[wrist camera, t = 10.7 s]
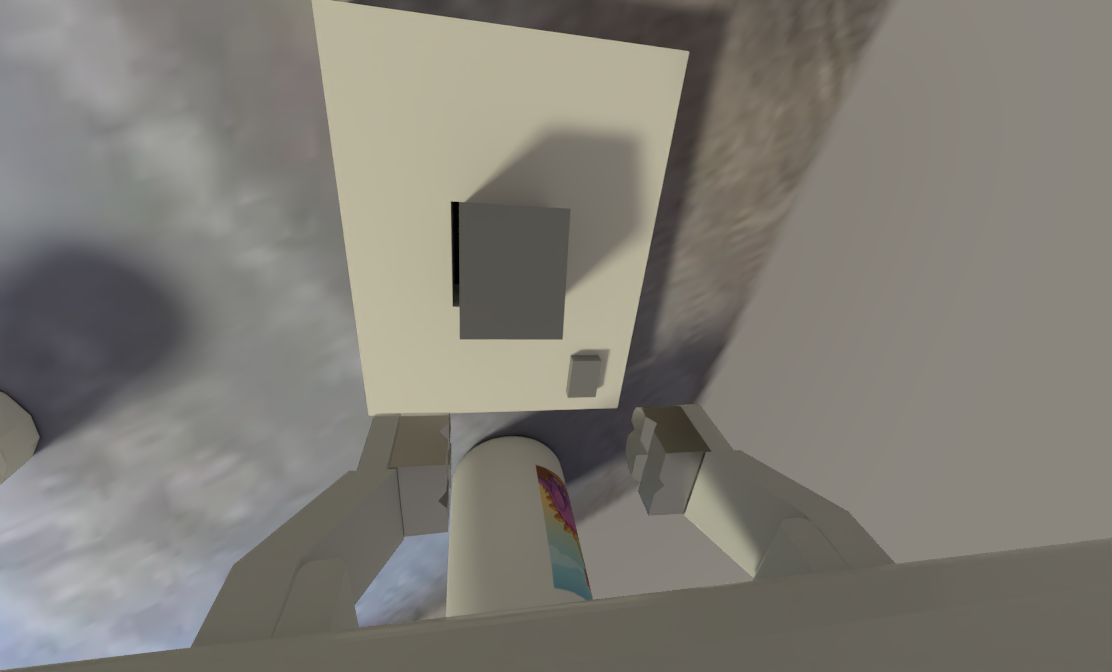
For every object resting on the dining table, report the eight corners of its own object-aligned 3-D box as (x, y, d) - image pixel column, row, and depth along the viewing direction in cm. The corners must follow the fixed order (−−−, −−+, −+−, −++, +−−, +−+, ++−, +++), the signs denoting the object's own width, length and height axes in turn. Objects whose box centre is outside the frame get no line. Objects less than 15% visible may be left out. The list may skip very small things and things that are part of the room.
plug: (462, 206, 22) (458, 201, 15) (540, 210, 23) (570, 208, 16) (463, 303, 23) (459, 339, 16) (536, 304, 24) (562, 339, 17)
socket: (335, 12, 17) (305, -6, 14) (661, 57, 20) (696, 49, 17) (379, 383, 26) (366, 422, 23) (604, 379, 28) (620, 414, 25)
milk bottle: (450, 512, 32) (425, 999, 15) (455, 431, 28) (429, 948, 11) (552, 508, 34) (636, 941, 16) (568, 431, 30) (697, 880, 13)
